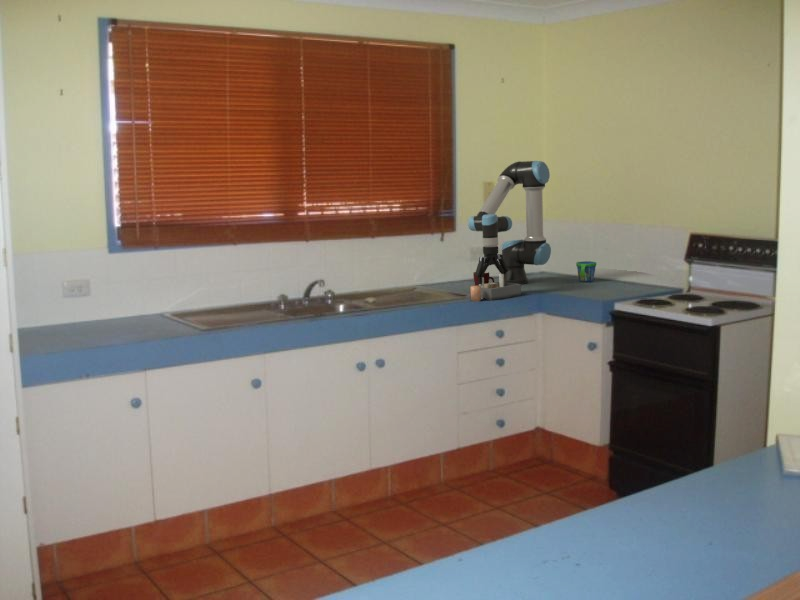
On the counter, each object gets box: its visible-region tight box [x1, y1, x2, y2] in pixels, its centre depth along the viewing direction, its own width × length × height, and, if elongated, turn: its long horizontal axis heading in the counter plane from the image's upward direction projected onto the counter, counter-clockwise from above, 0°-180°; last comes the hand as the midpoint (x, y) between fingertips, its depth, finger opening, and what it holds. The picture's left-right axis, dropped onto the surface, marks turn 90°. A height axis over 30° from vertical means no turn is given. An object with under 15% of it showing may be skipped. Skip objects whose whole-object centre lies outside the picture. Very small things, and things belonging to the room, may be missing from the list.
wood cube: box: [484, 282, 499, 289], centre depth 445 cm, size 5×5×5 cm
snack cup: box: [575, 260, 597, 283], centre depth 479 cm, size 16×10×10 cm
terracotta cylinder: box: [470, 285, 482, 303], centre depth 432 cm, size 5×5×7 cm
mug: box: [473, 270, 495, 286], centre depth 459 cm, size 11×8×10 cm
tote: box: [469, 281, 522, 301], centre depth 442 cm, size 20×15×6 cm
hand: (491, 288), depth 445 cm, fingers open, 13 cm apart
